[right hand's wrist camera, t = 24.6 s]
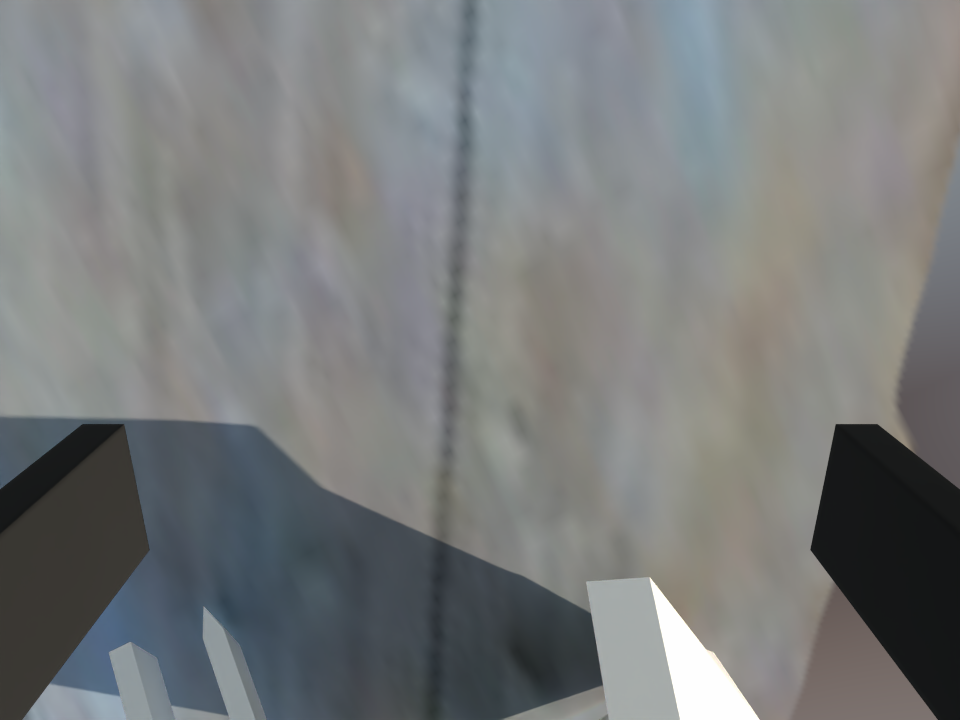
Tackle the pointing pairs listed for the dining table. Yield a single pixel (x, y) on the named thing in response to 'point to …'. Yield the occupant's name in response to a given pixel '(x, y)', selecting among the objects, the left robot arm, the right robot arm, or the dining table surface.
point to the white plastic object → (620, 644)
